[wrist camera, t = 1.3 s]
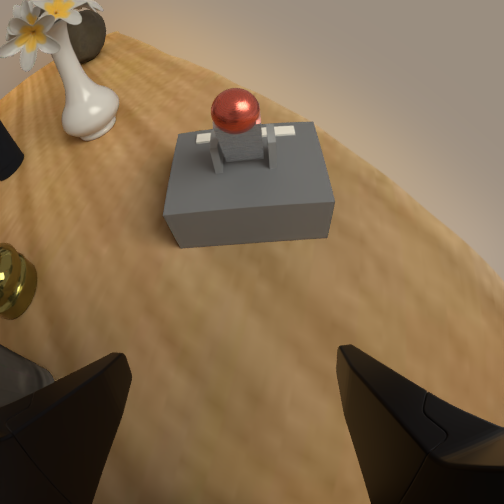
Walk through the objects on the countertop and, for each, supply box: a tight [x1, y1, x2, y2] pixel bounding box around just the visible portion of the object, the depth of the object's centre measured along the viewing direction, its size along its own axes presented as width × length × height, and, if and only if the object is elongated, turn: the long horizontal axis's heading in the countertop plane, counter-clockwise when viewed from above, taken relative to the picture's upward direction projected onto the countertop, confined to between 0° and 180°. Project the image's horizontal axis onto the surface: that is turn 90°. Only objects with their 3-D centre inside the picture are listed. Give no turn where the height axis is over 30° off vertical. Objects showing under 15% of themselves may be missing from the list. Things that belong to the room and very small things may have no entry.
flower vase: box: [0, 0, 119, 141], centre depth 28 cm, size 13×18×25 cm
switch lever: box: [211, 88, 264, 162], centre depth 20 cm, size 3×3×8 cm
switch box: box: [163, 122, 335, 248], centre depth 26 cm, size 10×13×8 cm
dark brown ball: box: [67, 10, 106, 63], centre depth 53 cm, size 14×14×15 cm
